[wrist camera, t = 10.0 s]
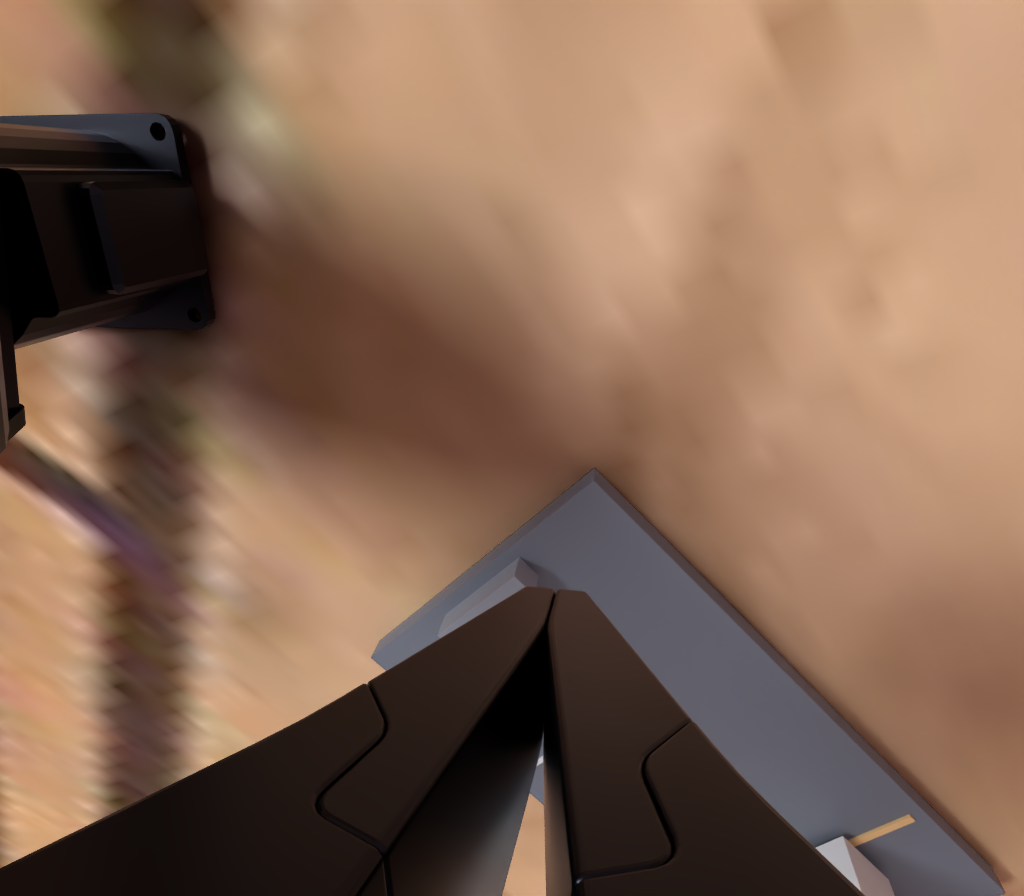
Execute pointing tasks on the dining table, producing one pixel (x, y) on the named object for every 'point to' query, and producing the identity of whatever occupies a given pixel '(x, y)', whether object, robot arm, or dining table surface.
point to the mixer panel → (713, 684)
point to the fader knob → (856, 867)
